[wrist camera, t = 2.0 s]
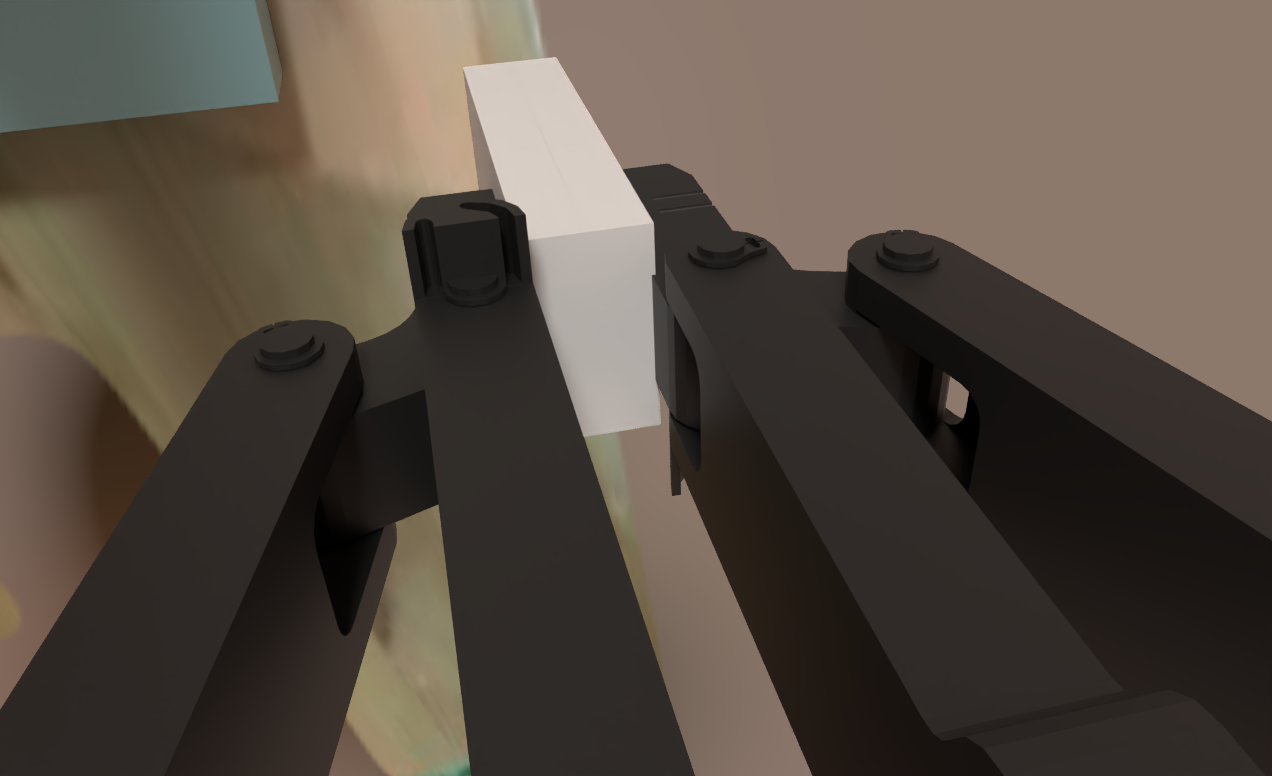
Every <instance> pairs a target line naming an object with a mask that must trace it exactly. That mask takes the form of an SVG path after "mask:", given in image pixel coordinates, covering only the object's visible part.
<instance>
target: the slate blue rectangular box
mask: <svg viewBox="0 0 1272 776" xmlns="http://www.w3.org/2000/svg"><path fill="white" fill-rule="evenodd" d="M282 76H283V72H282V67H281V63H280V59H279V54H278V50H277V46H276V41H275V37H274V33H273V28H272V24H271V19H270V15H269V11H268V6H267V2H266V0H0V133H2V132H11V131H20V130H29V129H38V128H47V127H56V126H65V125H74V124H83V123H92V122H101V121H110V120H119V119H128V118H137V117H146V116H155V115H164V114H173V113H182V112H192V111H201V110H210V109H219V108H228V107H237V106H246V105H255V104H264V103H273V102H279V95H280V89H281V82H282Z"/></svg>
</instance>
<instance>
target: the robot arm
mask: <svg viewBox="0 0 1272 776" xmlns="http://www.w3.org/2000/svg"><path fill="white" fill-rule="evenodd" d="M463 72H464V80H465V88H466V95H467V103H468V110H469V118H470V125H471V133H472V140H473V148H474V155H475V163H476V170H477V178H478V186H479V190H478V191H470V192H462V193H454V194H447V195H439V196H431V197H423V198H420V199H419V200H418V202H417V203H416V204H415V205H414V207H413V208H412V209H411V210H410V212H409V213H408V214H407V220H406V221H405V223H404V226H403V229H402V235H403V240H404V246H405V251H406V257H407V262H408V268H409V273H410V279H411V285H412V290H413V296H414V302H415V310H414V311H413V313H412V314H411V316H410V317H409V318H408V319H407V320H406V321H404V322H403V323H402V324H401V325H400V326H398V327H396V328H395V329H393V330H391V331H390V332H388V333H386V334H384V335H381V336H379V337H376V338H374V339H371V340H369V341H366V342H362V343H359V344H355V340H354V337H353V336H352V335H351V333H350V332H349V331H348V330H347V329H346V328H345V327H343V326H340V325H337V324H335V323H332V322H329V321H319V320H299V321H283V322H278V323H275V325H272V324H271V325H268V326H265V327H263V328H260V329H259V330H258V331H256V332H254V333H252V334H250V335H248V336H247V337H245V338H243V339H241V340H239V341H238V342H237V343H236V344H235V345H234V346H233V347H232V348H231V349H230V350H229V351H228V352H227V353H226V354H225V356H224V357H223V359H222V360H221V362H220V363H219V365H218V367H217V368H216V370H215V371H214V373H213V375H212V376H211V378H210V379H209V381H208V382H207V384H206V386H205V387H204V389H203V390H202V392H201V393H200V395H199V397H198V398H197V400H196V401H195V403H194V405H193V406H192V408H191V409H190V411H189V412H188V414H187V416H186V417H185V419H184V420H183V422H182V423H181V425H180V427H179V428H178V430H177V431H176V433H175V435H174V436H173V438H172V439H171V441H170V442H169V444H168V446H167V447H166V449H165V450H164V452H163V453H162V455H161V457H160V458H159V460H158V461H157V463H156V465H155V466H154V468H153V469H152V471H151V472H150V474H149V476H148V477H147V479H146V480H145V482H144V484H143V485H142V487H141V488H140V490H139V491H138V493H137V495H136V496H135V498H134V499H133V501H132V502H131V504H130V506H129V507H128V509H127V511H126V512H125V514H124V515H123V517H122V518H121V520H120V522H119V523H118V525H117V526H116V528H115V529H114V531H113V533H112V534H111V536H110V537H109V539H108V541H107V542H106V544H105V545H104V547H103V548H102V550H101V551H100V553H99V555H98V556H97V558H96V560H95V561H94V562H93V564H92V566H91V567H90V569H89V570H88V572H87V574H86V575H85V577H84V578H83V580H82V581H81V583H80V585H79V586H78V588H77V589H76V591H75V593H74V594H73V596H72V597H71V599H70V600H69V602H68V604H67V605H66V607H65V608H64V610H63V611H62V613H61V615H60V616H59V618H58V620H57V621H56V623H55V624H54V626H53V627H52V629H51V630H50V632H49V634H48V635H47V637H46V638H45V640H44V642H43V643H42V645H41V646H40V648H39V649H38V651H37V653H36V654H35V656H34V657H33V659H32V660H31V662H30V664H29V665H28V667H27V668H26V670H25V671H24V673H23V675H22V676H21V678H20V680H19V681H18V683H17V684H16V686H15V687H14V689H13V691H12V692H11V694H10V695H9V697H8V698H7V700H6V702H5V703H4V705H3V706H2V708H1V710H0V776H328V775H329V772H330V768H331V765H332V762H333V758H334V755H335V751H336V748H337V745H338V741H339V737H340V734H341V731H342V727H343V724H344V721H345V717H346V714H347V711H348V707H349V704H350V700H351V697H352V693H353V690H354V687H355V683H356V680H357V676H358V673H359V670H360V666H361V663H362V659H363V656H364V653H365V649H366V646H367V642H368V639H369V635H370V632H371V629H372V625H373V622H374V618H375V615H376V612H377V608H378V605H379V601H380V598H381V594H382V591H383V588H384V584H385V581H386V577H387V574H388V571H389V567H390V564H391V560H392V557H393V553H394V550H395V547H396V543H397V528H396V524H395V522H397V521H399V520H402V519H404V518H406V517H409V516H411V515H414V514H416V513H419V512H421V511H423V510H426V509H428V508H431V507H433V506H435V505H438V504H439V511H440V519H441V528H442V536H443V544H444V553H445V561H446V569H447V578H448V586H449V594H450V603H451V611H452V619H453V628H454V636H455V645H456V653H457V661H458V670H459V678H460V686H461V695H462V703H463V711H464V720H465V728H466V737H467V745H468V753H469V762H470V770H471V776H695V774H694V772H693V769H692V766H691V762H690V759H689V756H688V753H687V750H686V747H685V744H684V741H683V738H682V735H681V732H680V729H679V726H678V723H677V720H676V717H675V714H674V711H673V708H672V704H671V702H670V699H669V695H668V692H667V689H666V686H665V683H664V680H663V677H662V674H661V671H660V668H659V665H658V662H657V659H656V656H655V653H654V650H653V647H652V644H651V640H650V637H649V634H648V631H647V628H646V625H645V622H644V619H643V616H642V613H641V610H640V607H639V604H638V601H637V598H636V595H635V592H634V589H633V586H632V583H631V580H630V577H629V573H628V570H627V567H626V564H625V561H624V558H623V555H622V552H621V549H620V546H619V543H618V540H617V537H616V534H615V531H614V528H613V525H612V522H611V519H610V516H609V513H608V509H607V506H606V503H605V500H604V497H603V494H602V491H601V488H600V485H599V482H598V479H597V476H596V473H595V470H594V467H593V464H592V461H591V458H590V455H589V452H588V449H587V445H586V442H585V439H584V437H588V436H594V435H600V434H606V433H612V432H618V431H624V430H630V429H636V428H641V427H647V426H653V425H659V424H660V394H659V388H660V390H661V393H662V395H663V397H664V399H665V401H666V403H667V405H668V408H669V427H670V428H669V432H670V468H671V489H672V496H675V495H680V494H681V481H682V480H683V478H684V479H685V481H686V483H687V486H688V488H689V490H690V493H691V495H692V497H693V499H694V502H695V504H696V506H697V509H698V511H699V513H700V516H701V518H702V520H703V523H704V525H705V527H706V530H707V532H708V534H709V537H710V539H711V541H712V544H713V546H714V548H715V551H716V553H717V555H718V558H719V560H720V562H721V564H722V567H723V569H724V571H725V573H726V576H727V578H728V581H729V583H730V585H731V588H732V590H733V592H734V595H735V597H736V599H737V602H738V604H739V606H740V609H741V611H742V613H743V616H744V618H745V620H746V622H747V625H748V627H749V629H750V632H751V634H752V636H753V639H754V641H755V643H756V646H757V648H758V650H759V653H760V655H761V657H762V660H763V662H764V664H765V666H766V669H767V671H768V674H769V676H770V678H771V681H772V683H773V685H774V688H775V690H776V692H777V694H778V697H779V699H780V701H781V704H782V706H783V708H784V710H785V713H786V715H787V718H788V720H789V722H790V725H791V727H792V729H793V732H794V734H795V736H796V738H797V741H798V743H799V746H800V748H801V750H802V752H803V755H804V757H805V759H806V762H807V764H808V766H809V769H810V771H811V773H812V776H1272V422H1271V421H1270V420H1268V419H1266V418H1264V417H1263V416H1261V415H1259V414H1257V413H1255V412H1254V411H1252V410H1250V409H1248V408H1247V407H1245V406H1243V405H1241V404H1239V403H1238V402H1236V401H1234V400H1232V399H1230V398H1229V397H1227V396H1225V395H1223V394H1222V393H1220V392H1218V391H1216V390H1214V389H1213V388H1211V387H1209V386H1207V385H1205V384H1204V383H1202V382H1200V381H1198V380H1196V379H1194V378H1193V377H1191V376H1189V375H1188V374H1186V373H1184V372H1182V371H1180V370H1179V369H1177V368H1175V367H1173V366H1171V365H1170V364H1168V363H1166V362H1164V361H1163V360H1161V359H1159V358H1157V357H1155V356H1154V355H1152V354H1150V353H1148V352H1146V351H1145V350H1143V349H1141V348H1139V347H1137V346H1136V345H1134V344H1132V343H1130V342H1128V341H1127V340H1125V339H1123V338H1121V337H1120V336H1118V335H1116V334H1114V333H1112V332H1111V331H1109V330H1107V329H1105V328H1103V327H1102V326H1100V325H1098V324H1096V323H1095V322H1092V321H1091V320H1089V319H1087V318H1086V317H1084V316H1082V315H1080V314H1078V313H1077V312H1074V311H1073V310H1071V309H1070V308H1068V307H1065V306H1064V305H1062V304H1061V303H1059V302H1057V301H1055V300H1053V299H1052V298H1050V297H1048V296H1046V295H1044V294H1043V293H1040V292H1039V291H1037V290H1036V289H1034V288H1032V287H1030V286H1028V285H1027V284H1025V283H1023V282H1021V281H1019V280H1018V279H1016V278H1014V277H1012V276H1010V275H1009V274H1007V273H1005V272H1003V271H1002V270H1000V269H998V268H996V267H994V266H993V265H991V264H989V263H987V262H985V261H984V260H982V259H980V258H978V257H977V256H975V255H973V254H971V253H969V252H968V251H966V250H964V249H962V248H960V247H959V246H957V245H955V244H953V243H951V242H948V241H946V240H943V239H941V238H938V237H936V236H932V235H926V234H921V233H919V232H917V231H914V230H913V231H912V230H903V232H901V230H890V231H887V232H886V233H880V234H875V235H870V236H867V237H865V238H863V239H861V240H858V241H856V242H855V243H854V244H853V245H852V247H851V248H850V249H849V250H848V259H847V271H846V272H829V271H803V270H793V269H792V268H791V266H790V265H789V264H788V262H787V261H786V260H785V259H784V257H783V256H782V255H781V253H780V252H779V251H778V250H777V248H776V247H775V246H774V245H772V244H771V243H770V242H768V241H767V240H766V239H764V238H761V237H759V236H756V235H753V234H750V233H747V232H739V231H732V230H731V228H730V227H729V225H728V224H727V223H726V221H725V220H724V218H723V217H722V216H721V214H720V213H719V212H718V210H717V209H716V208H715V206H712V202H711V201H710V200H709V198H708V196H707V195H706V194H705V193H703V190H702V188H701V187H700V186H699V184H698V183H697V181H696V180H695V179H694V177H693V176H692V175H691V174H688V173H686V172H684V171H682V170H680V169H678V168H676V167H674V166H672V165H670V164H660V165H653V166H645V167H637V168H630V169H622V168H621V167H620V165H619V163H618V161H617V160H616V158H615V156H614V155H613V153H612V152H611V150H610V148H609V146H608V145H607V143H606V141H605V139H604V138H603V136H602V134H601V133H600V131H599V129H598V128H597V126H596V124H595V123H594V121H593V119H592V117H591V116H590V114H589V112H588V111H587V109H586V107H585V106H584V104H583V102H582V101H581V99H580V97H579V95H578V94H577V92H576V91H575V89H574V87H573V85H572V84H571V82H570V80H569V78H568V77H567V75H566V73H565V72H564V70H563V68H562V67H561V65H560V63H559V62H558V60H557V58H556V57H553V58H543V59H534V60H525V61H515V62H506V63H497V64H488V65H478V66H469V67H463ZM950 376H951V377H952V378H954V379H955V380H956V381H958V382H959V383H961V384H962V385H963V386H964V387H965V388H966V389H967V390H968V391H969V396H968V402H967V408H966V413H965V415H964V418H963V419H962V418H960V417H958V416H956V415H955V414H953V413H952V412H951V411H949V410H948V409H947V408H945V407H946V400H947V394H948V387H949V381H950Z"/></svg>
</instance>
